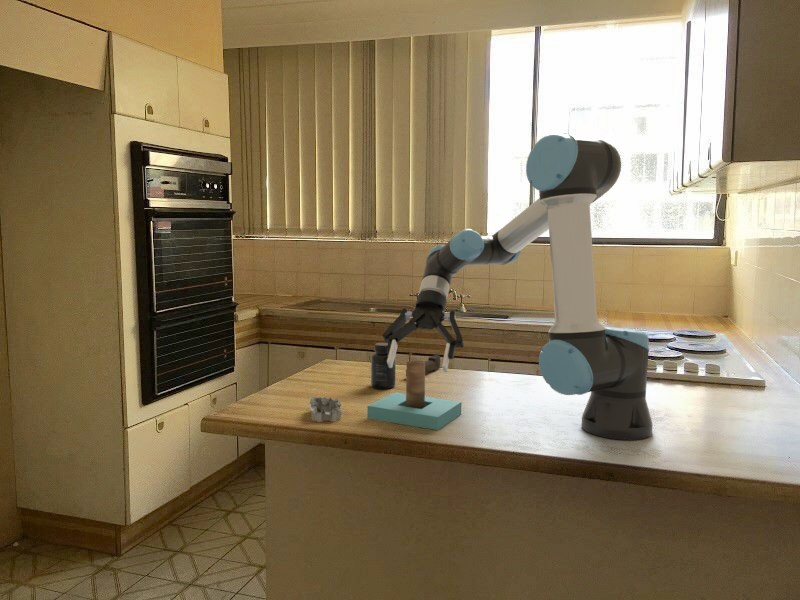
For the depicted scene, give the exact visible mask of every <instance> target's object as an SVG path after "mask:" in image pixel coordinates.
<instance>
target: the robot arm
mask: <svg viewBox="0 0 800 600" xmlns="http://www.w3.org/2000/svg"><path fill="white" fill-rule="evenodd" d="M620 156H621V155H620V153H619V151H618V149H617V148H616V146H615V145H613V144H612V143H611V142H610V141H608V140H605V139H604V138H600V137H591V136H590V137H589V136H583V135H575V134H571V133H567V132H565V133H550V134H548V135H545V136H543V137H542V138H540V139H539V140H538V141H537V142H536V143H535V144H534V146H533V148H532V149H531V150H530V152H529V154H528V157H527V160H526V165H525V166H526V167H525V173H526V177H527V180H528V182H529V183H530V184H531V186H532V188H534V189H535V190H537V191H538V194H539V198H538V199H536V200H535V201H534V202H533V203H531V205H530V204H529V206H528V207H526V208H525V209H524V210H522V211H521V213H519V214H518V215H517V216H515V217H514V218H513V219H512V220H510V221H509V222H508V223H506V224H505V225H504V226H503V227H502V228H501V229H499V230H497V231H496V232H495V233H494V234H493V235H481V234H480V233H479V232H477V231H475V230H473V229H472V228H465V229H463V230H461V231H460V232H458V233H456V234H454V236H452V238H451V239H450V240H449V241H447V242H446V243H445V245H438V246H434V247H432V248H431V249H430V250H429V251H428V252H429V253H428V255H427V257H426V260H425V267H424V270H423V276H422V279H421V283H420V286H419V291H418V295H417V298H416V303H415V308H414V309H413V311H410V310H407V308H402V309H401V312H400V314H399V316H398V317H397V318H395V320H394V321H393V322H392V324H391V325H390V326H389V327H388V328H387V329H386V330H385V331H384V332H383V333H382V337H383V341H384V343H388V345H387V349H386V351H387V354H388V359H387V364H388V366H389V368H392V366H393V363H394V359H396V354H397V350H398V343H399V342H400V341H402V340H403V339H404V338H405V337H407V336H409V334H411V333H412V332H413V331H417V330H418V329H422V330H426V329H428V330H433V329H436V330H437V332H438V333H439V334H440V335H441V337H443V339H444V340H445V341H446V345H445V350H444V354H443V359H442V365H441V367H442V370H443V372H444V373H448V368H449V363H450V360H453V359H454V358H455V354H456V353H455V352H456V349H457V348H463V347H465V344H464V338H463V336H462V334H461V331H460V329H459V326H458V324H457V322H456V320H457V318H456V317H457V316H456V313H455V311H454V310H451V311H450V312H449V313H448V312H447V313H446V311H445V310H446V308H447V307H446V306H447V300H448V296H449V292H450V287H451V283H452V279H453V277H454V275H456V274H458V272H460V271H462V270H463V269H464V268H465V267H467V266H484V265H487V266H488V265H503V266H504V265H507V264H512V263H514V262H516V261H517V260H518V259H519V257H520V255H521V251H522V250H523V249H524V248H525V247H527V246H528V245H530V244H531V243H533V242H534V241H535V240H536V239H537V238H539V237H540V236H541V235H543V234H545V233H546V232H547V231H548V236H549V247H550V248H549V249H550V264H551V279H552V293H553V296H552V297H553V308H554V323H553V325H552V326H551V327H550V328H549V330H548V342H546V343H545V344H544V345H543V346H542V350H540V352H539V356H538V366H539V371H540V373H541V376H542V378H543V379H544V381H545V383H546V384H548V385H549V387H550V388H551V389H552V390H553V391H554V392H556V393H559V394H560V395H565V396H572V395H573V396H575V395H576V396H577V395H578V396H579V395H580V396H582V395H584V394H587V393H590V394H589V395H590V396H589V397H588V401H587V402H586V405H585V408H584V411H583V412H582V416H581V425H580V426H581V429H583V430H584V431H585V432H587V433H589V434H591V435H594V436H597V437H601V438H606V439H611V440H621V441H634V440H636V441H637V440H643V439H646V438H649V437H650V436H652V435H653V421H652V417H651V414H650V410H649V406H648V402H647V399H646V398H647V397H646V396H647V381H648V364H649V353H650V348H649V347H650V345H649V342H650V340H649V336H648V335H647V333H646V332H643V331H641V330H640V331H639V330H635V329H628V328H622V327H614V326H606V325H603V324H602V323H600V321H599V320H598V312H597V296H596V281H595V268H594V253H593V252H594V251H593V235H592V224H591V223H592V221H591V205H592V204H593V203H595V202H596V201H597V200H599V199H600V198H601V197H603V196H604V195H605V194H606V193H607V192H609V191H610V190H611V189H612V188H613V187H614V186H615V184H616V183H617V181H618V179H619V177H620V175H621V171H622V160H621V157H620ZM445 320H447V322H448V323H449V324H450V326H451V329H452V331H453V335H454V337H455V338H453V336H452V335H451V333H450V332H449V331H448V329H446V327H445V326H444V324H443V323H442V322H444V321H445ZM407 321H408V322H407Z"/></svg>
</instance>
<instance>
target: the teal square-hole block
mask: <svg viewBox="0 0 800 600" xmlns="http://www.w3.org/2000/svg"><path fill="white" fill-rule="evenodd" d="M462 404H463V403H462V401H458V400H450V399H444V398H443V399H442V398H438V397H437V398H436V397H432V396H431V397H430V396H425V407H424V408H423V409H418V408H411V407H406V393H402V392H397V391H395V392H393V393H391V394H388V395H387V396H385V397H383V398H380V399H378V400H377V401H374V402H373V403H371V404H369V405H367V411H366V412H367V416H366V417H367V419H369V420H375V421H381V422H387V423H392V424H399V425H405V426H410V427H411V426H412V427H417V428H418V427H419V428H421V429H423V428H424V429H429V430H436V431H439V430H440V429H442V428H443V427H444V426H446V425H448V424H449V423H451V422H452V421H453V420H455V419H457V418H458V417H459V416H461V415H462Z"/></svg>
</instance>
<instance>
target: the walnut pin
mask: <svg viewBox="0 0 800 600" xmlns="http://www.w3.org/2000/svg"><path fill="white" fill-rule="evenodd" d="M425 362H426V361H423V360H407V361H406V370H407V372H406V371H405V377H406V380H405V381H406V382H405V384H406V385H405V394H406V407H411V408H418V409H423V408H424V407H425V397H426V396H425V395H426V394H425V393H426V391H425V390H426V374H425Z"/></svg>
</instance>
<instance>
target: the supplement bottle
mask: <svg viewBox="0 0 800 600" xmlns="http://www.w3.org/2000/svg"><path fill="white" fill-rule="evenodd" d="M387 345H388V342H387V343H386V342H376V343H375V344H374V350H373V351H374V353H373V354H371V356H370V385H371V387H372V388H374V389H377V390H378V389H380V390H387V389H393V388H395V386H396V365H397V364H396V361H397V360H396V359H397V358H395V359H394V363H393V366H392V368H389V366H388V364H387V359H388V354H387V351H386V349H387Z"/></svg>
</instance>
